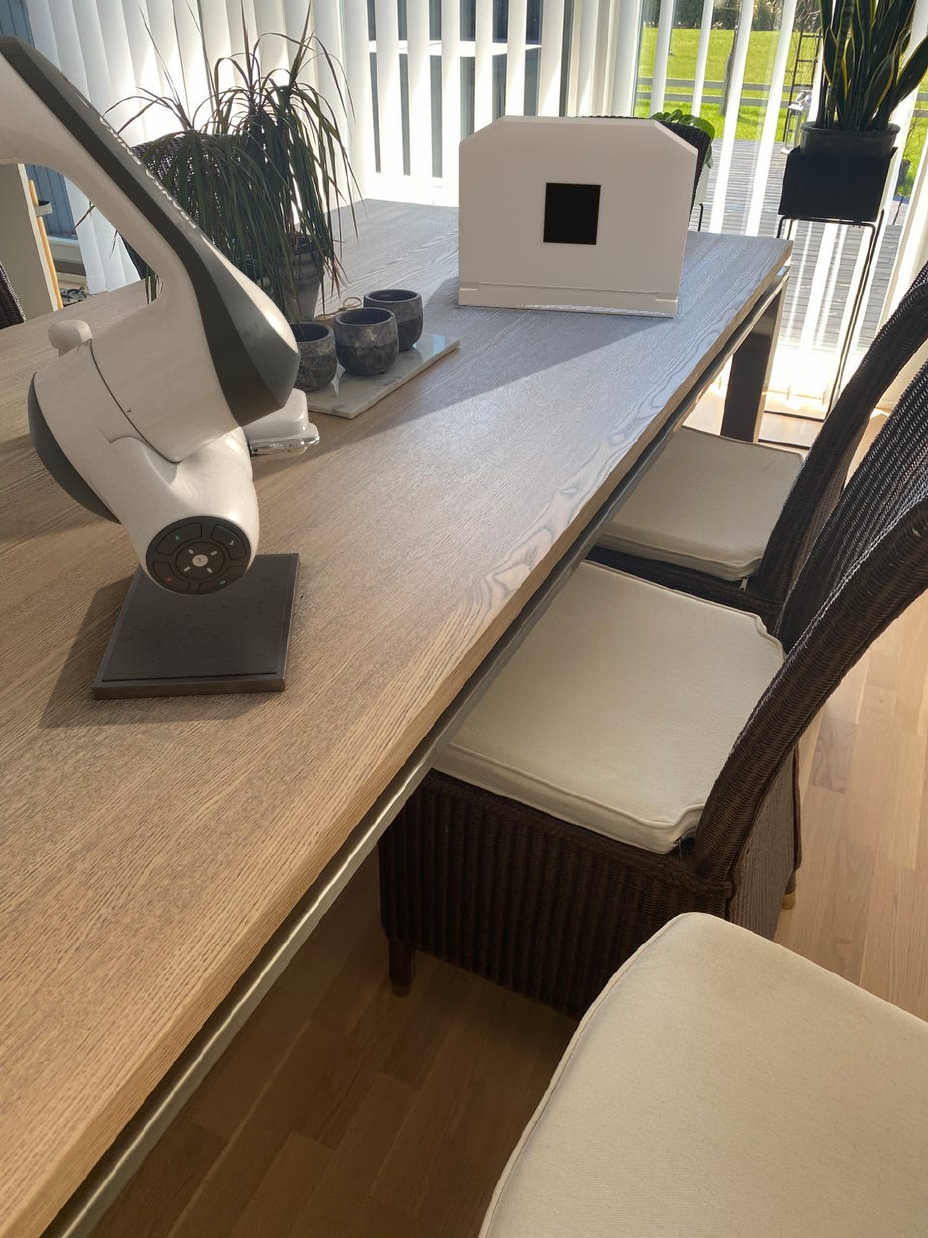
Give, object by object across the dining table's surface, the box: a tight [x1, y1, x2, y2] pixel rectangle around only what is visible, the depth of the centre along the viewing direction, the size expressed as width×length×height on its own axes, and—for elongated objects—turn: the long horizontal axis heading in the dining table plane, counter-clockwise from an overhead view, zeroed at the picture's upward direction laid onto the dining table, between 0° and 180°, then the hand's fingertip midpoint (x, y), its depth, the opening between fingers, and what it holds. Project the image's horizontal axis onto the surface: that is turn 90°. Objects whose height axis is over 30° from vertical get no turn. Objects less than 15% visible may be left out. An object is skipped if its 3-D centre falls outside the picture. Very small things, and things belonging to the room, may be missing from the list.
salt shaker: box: [47, 319, 93, 358], centre depth 104 cm, size 6×6×13 cm
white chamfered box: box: [458, 114, 699, 318], centre depth 147 cm, size 33×24×26 cm
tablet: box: [91, 552, 301, 700], centre depth 77 cm, size 14×18×1 cm
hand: (189, 394), depth 87 cm, fingers open, 8 cm apart
